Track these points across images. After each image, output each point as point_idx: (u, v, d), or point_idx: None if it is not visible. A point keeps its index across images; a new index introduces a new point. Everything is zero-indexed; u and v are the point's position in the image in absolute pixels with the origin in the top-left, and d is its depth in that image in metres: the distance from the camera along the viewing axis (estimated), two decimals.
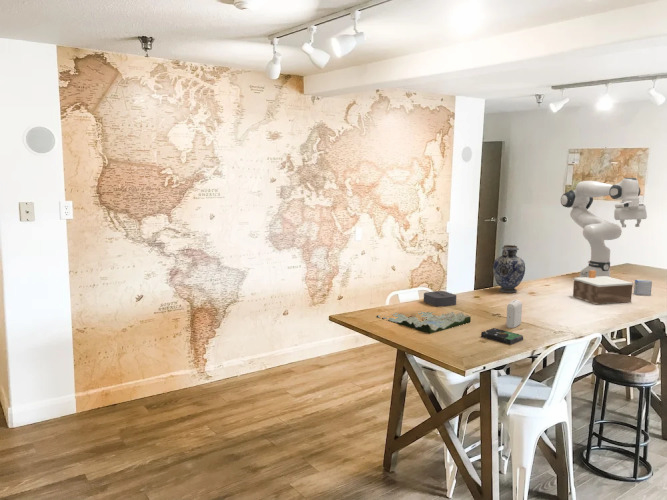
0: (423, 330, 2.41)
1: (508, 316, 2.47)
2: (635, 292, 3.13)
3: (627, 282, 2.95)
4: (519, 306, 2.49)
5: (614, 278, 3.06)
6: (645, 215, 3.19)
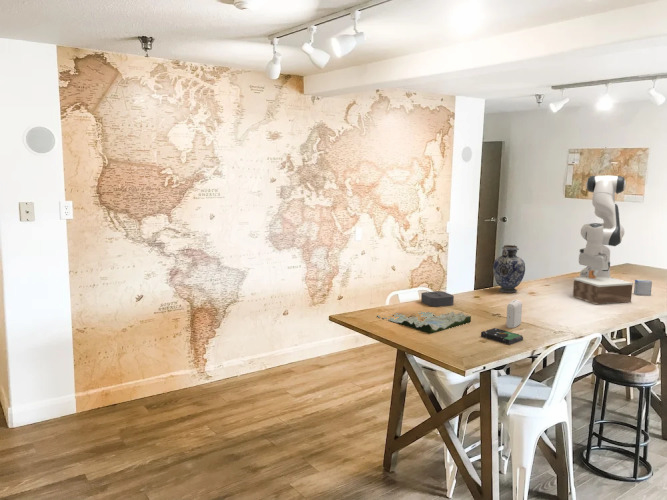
0: (424, 330, 2.41)
1: (508, 316, 2.47)
2: (635, 292, 3.13)
3: (627, 282, 2.95)
4: (519, 306, 2.49)
5: (614, 278, 3.06)
6: (601, 266, 2.98)
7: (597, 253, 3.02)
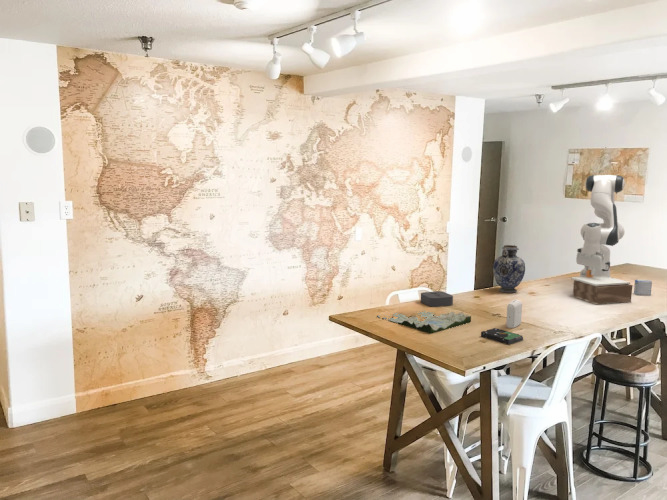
0: (424, 330, 2.41)
1: (508, 316, 2.47)
2: (635, 292, 3.13)
3: (624, 281, 2.97)
4: (519, 306, 2.49)
5: (611, 277, 3.08)
6: (598, 265, 3.00)
7: (594, 252, 3.04)
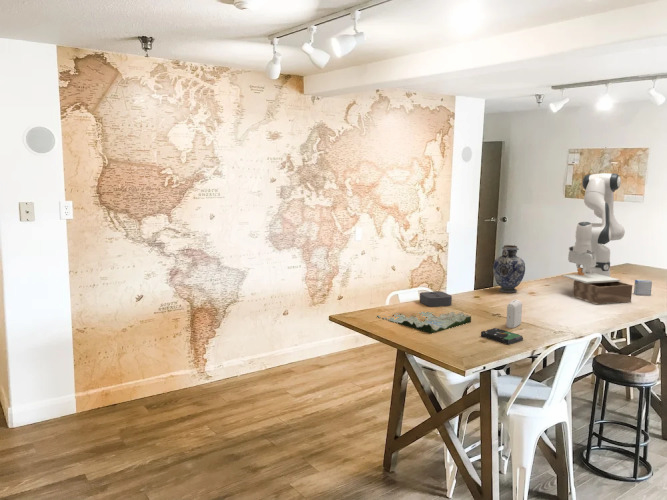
0: (424, 330, 2.41)
1: (508, 316, 2.47)
2: (635, 292, 3.13)
3: (614, 279, 3.04)
4: (519, 306, 2.49)
5: (602, 275, 3.15)
6: (589, 263, 3.07)
7: (586, 251, 3.11)
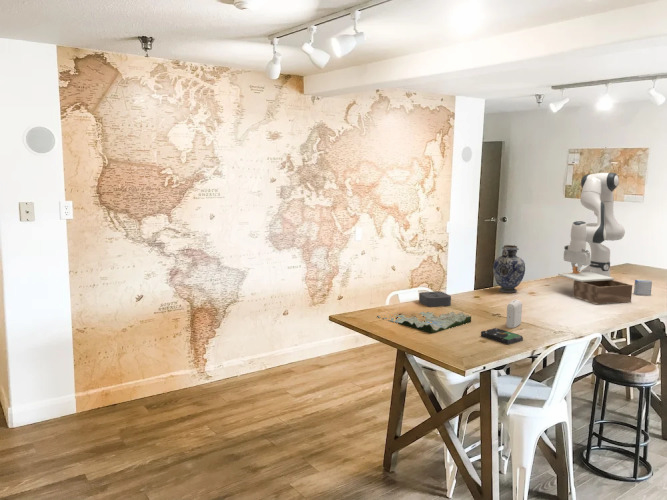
0: (425, 330, 2.41)
1: (508, 316, 2.47)
2: (635, 292, 3.13)
3: (609, 277, 3.08)
4: (519, 306, 2.49)
5: (597, 274, 3.19)
6: (584, 262, 3.12)
7: (580, 250, 3.15)
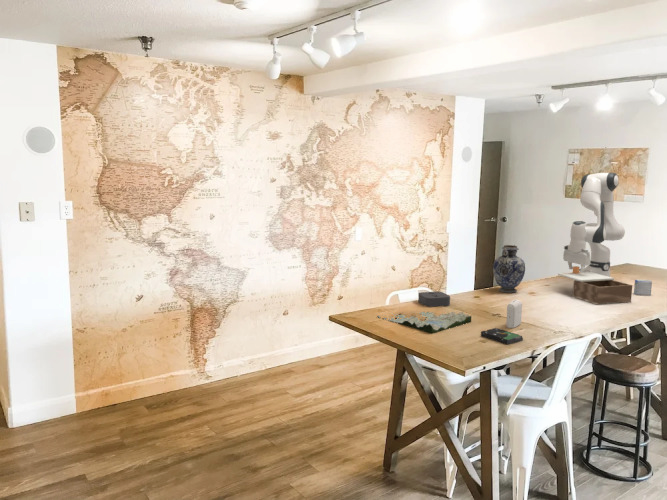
0: (425, 330, 2.41)
1: (508, 316, 2.47)
2: (635, 292, 3.13)
3: (608, 277, 3.08)
4: (519, 306, 2.49)
5: (597, 274, 3.19)
6: (584, 262, 3.12)
7: (580, 250, 3.15)
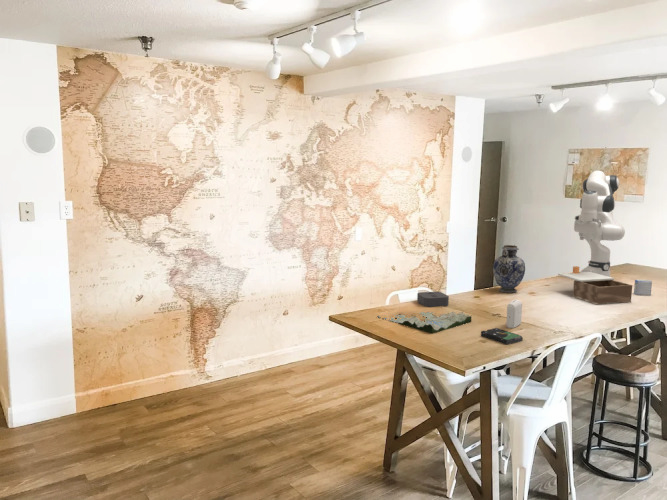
0: (425, 330, 2.41)
1: (508, 316, 2.47)
2: (635, 292, 3.13)
3: (608, 277, 3.08)
4: (519, 306, 2.49)
5: (597, 274, 3.19)
6: (595, 231, 3.07)
7: (591, 219, 3.11)
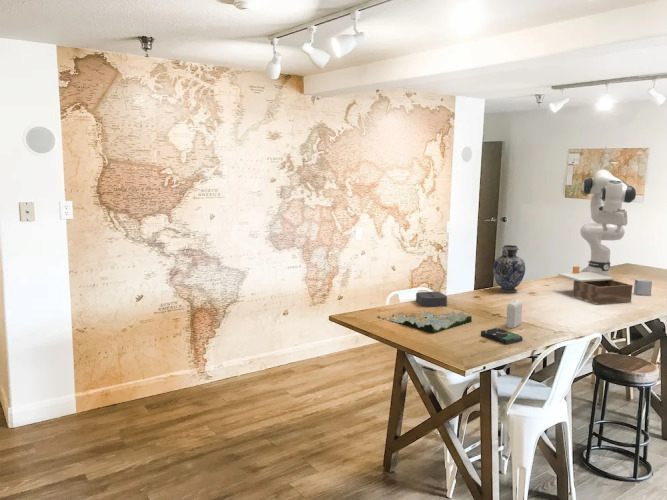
0: (426, 330, 2.41)
1: (508, 316, 2.47)
2: (635, 292, 3.13)
3: (608, 277, 3.08)
4: (519, 306, 2.49)
5: (597, 274, 3.19)
6: (621, 221, 3.01)
7: (616, 209, 3.05)
